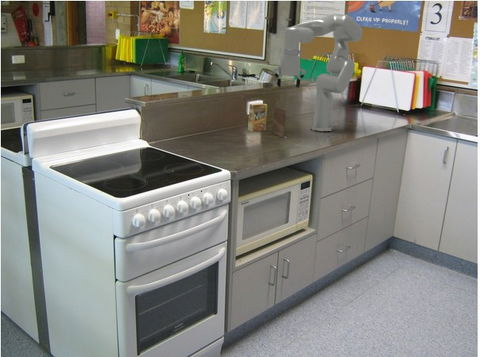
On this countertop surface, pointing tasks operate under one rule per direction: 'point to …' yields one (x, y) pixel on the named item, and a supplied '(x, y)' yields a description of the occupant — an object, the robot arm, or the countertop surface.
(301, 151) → the countertop surface
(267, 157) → the countertop surface
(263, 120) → the candy box
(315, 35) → the robot arm
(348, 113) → the countertop surface
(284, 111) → the walnut board
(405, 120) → the countertop surface
